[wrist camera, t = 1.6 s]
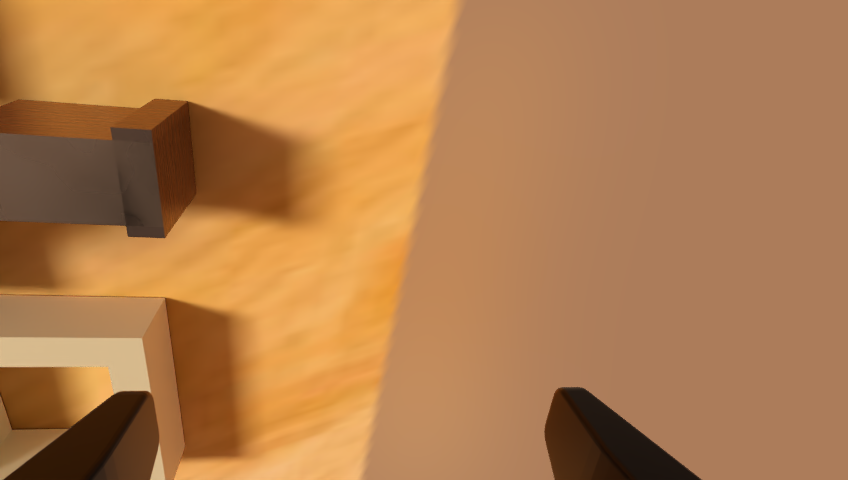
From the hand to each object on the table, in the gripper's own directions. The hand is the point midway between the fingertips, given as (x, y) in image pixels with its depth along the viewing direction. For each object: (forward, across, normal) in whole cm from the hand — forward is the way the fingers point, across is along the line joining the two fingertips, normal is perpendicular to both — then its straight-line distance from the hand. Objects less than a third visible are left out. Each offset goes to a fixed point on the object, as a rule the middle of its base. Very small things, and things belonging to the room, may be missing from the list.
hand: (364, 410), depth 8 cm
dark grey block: (+12, +8, 0) cm, 14 cm away
